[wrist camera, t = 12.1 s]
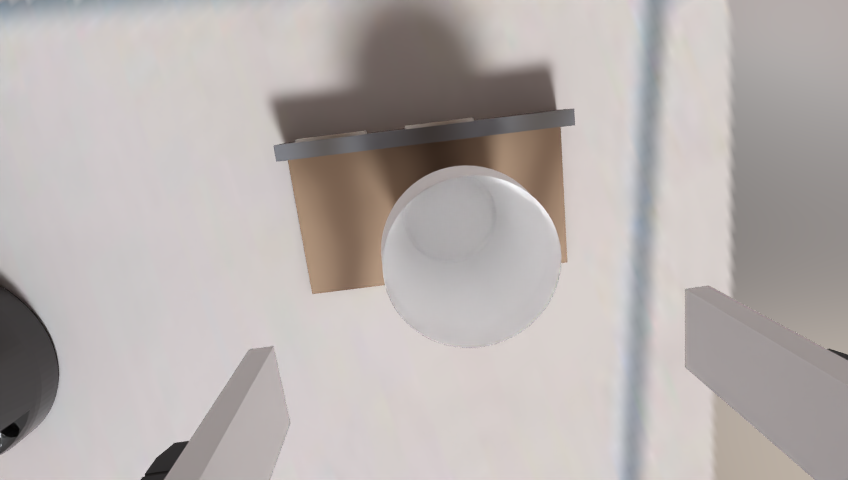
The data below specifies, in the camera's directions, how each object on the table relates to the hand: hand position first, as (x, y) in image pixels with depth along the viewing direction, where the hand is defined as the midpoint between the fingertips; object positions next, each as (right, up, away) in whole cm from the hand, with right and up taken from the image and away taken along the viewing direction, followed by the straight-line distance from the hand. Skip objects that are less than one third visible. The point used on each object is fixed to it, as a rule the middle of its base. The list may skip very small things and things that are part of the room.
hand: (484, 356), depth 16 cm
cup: (0, +5, +20) cm, 21 cm away
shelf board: (-1, +6, +20) cm, 21 cm away
